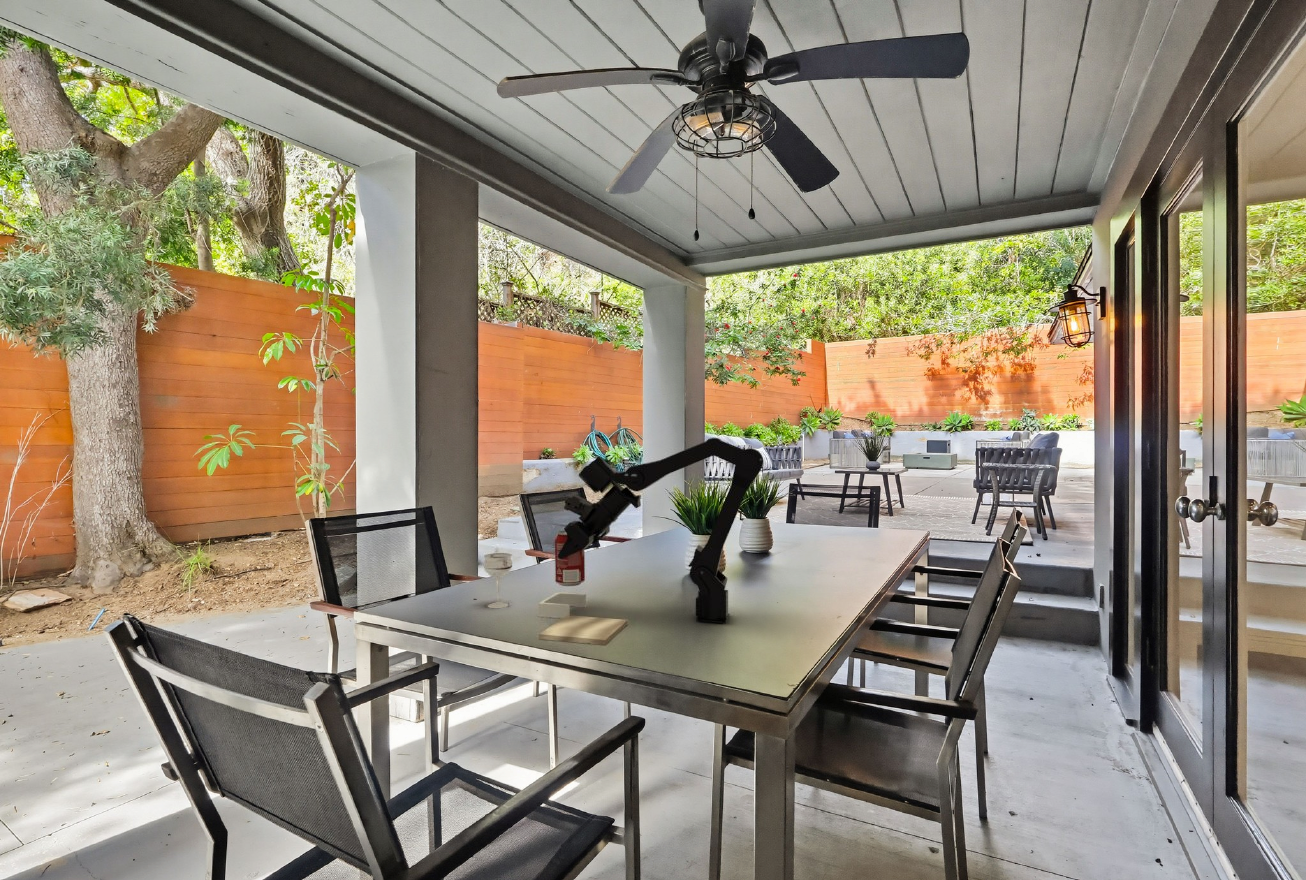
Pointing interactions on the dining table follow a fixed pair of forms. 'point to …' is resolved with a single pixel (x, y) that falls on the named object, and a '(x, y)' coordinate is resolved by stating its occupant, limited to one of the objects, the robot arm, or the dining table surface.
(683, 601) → the dining table surface
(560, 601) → the block
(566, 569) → the soda can
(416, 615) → the dining table surface
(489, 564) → the wineglass
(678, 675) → the dining table surface
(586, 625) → the pad
